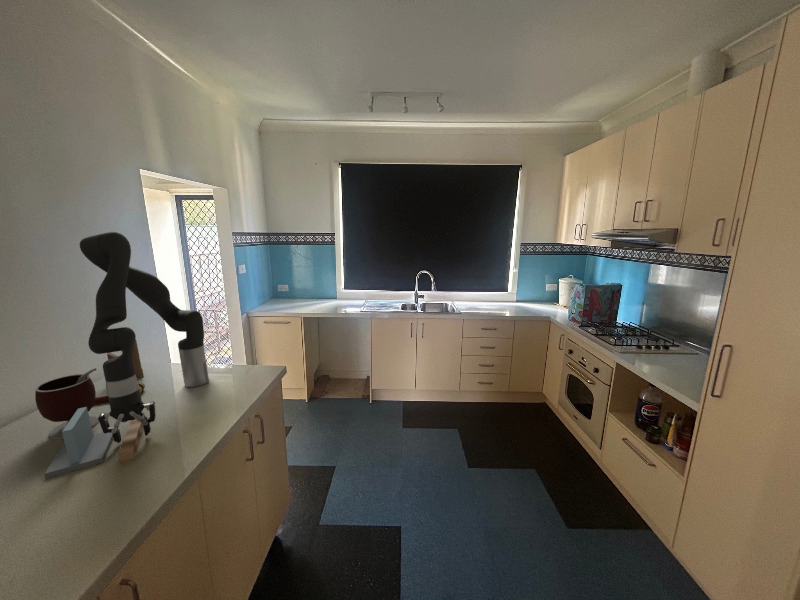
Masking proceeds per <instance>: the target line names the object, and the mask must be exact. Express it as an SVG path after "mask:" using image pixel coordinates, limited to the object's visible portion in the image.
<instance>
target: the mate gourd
mask: <svg viewBox="0 0 800 600" xmlns="http://www.w3.org/2000/svg"><path fill="white" fill-rule="evenodd" d="M95 371H97V368H95V367H94V368H92V369H89V371H87V372H85V373H77V374H69V375H65V376H61V377H57V378H53V379H50V380H47V381H45V382H43V383H41V384H39V385H37V386H36V387H35V388H34V390H35V391H34V392H35V393H34V395H35V396H34V398H35V404H36V407H37V410H38V411H39V413H40V415H41V416H42V417H43V419H45V420H48V421H50V422H55V423H59V422H63V423H60V424H58V425H57V426H55V427H54V428H52V429H51V430H50V431H49V433H48V436H49V438H50V439H52V440H62V439H63V440H64V438H63V434H62V431H63V429H64V428H65V427H66V425H67V424H68V422H69V421H70V420H71V418H72V417H73V415H74V414H75V412H76V411H77V410H78V409H79V408H83V407H87V410H88V413H89V412H90V411H91V409H92V408H93V406H94V404H95V399H96V398H97V396H96V393H97V392H96V387H95V384H94V382H93V380H92V378H91V375H90V374H92V373H93V372H95ZM98 417H99V416H98ZM98 417H97V416H92V415H91V416H90V415H89V418H90V423H91V427H92V429H93V428H94V427H96V426H97V425H98V424H99V420H98Z"/></svg>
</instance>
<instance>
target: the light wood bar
mask: <svg viewBox="0 0 800 600" xmlns="http://www.w3.org/2000/svg"><path fill="white" fill-rule="evenodd" d="M129 421H130V422H129V424H128V427H127V429H126V432H125V435H124V437H123V439H122V441H121V442H122V443H121V445H120V448H119V450H118V453H117V458H118V462H119V465H120V466H121V465H124V464H126V463H130V462H134V461H135V458H136V455H137V450H138V449H139V445H140V441H141V439H140V438H142V434H143V432H144V427H143V424H142V423H141V422H139V421H138V420H136V419H135V420H129ZM142 431H143V432H142Z"/></svg>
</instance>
